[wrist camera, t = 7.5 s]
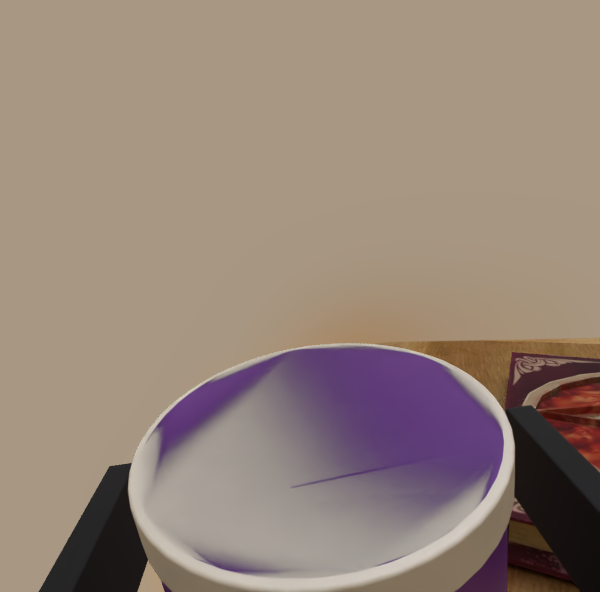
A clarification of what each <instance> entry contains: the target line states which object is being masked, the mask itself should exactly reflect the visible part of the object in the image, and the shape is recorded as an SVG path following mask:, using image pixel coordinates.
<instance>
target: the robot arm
mask: <svg viewBox="0 0 600 592" xmlns="http://www.w3.org/2000/svg"><path fill="white" fill-rule="evenodd" d="M506 416H507V418H508V421H509V423H510V425H511V428H512V432H513V437H514V443H515V487H514V496H515V498H516V499H517V501H518V502H519V504H520V505H521V507H522V508H523V509H524V511H525V512H526V514H527V515H528V517H529V518H530V520H531V521H532V522H533V524H534V525H535V527H536V528H537V530H538V531H539V533H540V534H541V535H542V537H543V538H544V540H545V541H546V543H547V544H548V546H549V547H550V548H551V550H552V551H553V553H554V554H555V556H556V557H557V559H558V560H559V561H560V563H561V564H562V566H563V567H564V569H565V570H566V572H567V573H568V574H569V576H570V577H571V579H572V580H573V582H574V583H575V585H576V586H577V587H578V589H579V590H580V592H600V472H599V471H598V470H597V469H596V468H595V467H594V466H593V465H592V464H591V463H590V462H589V461H588V460H587V459H586V458H585V457H584V456H583V455H582V454H581V453H580V452H579V451H578V450H577V449H575V448H574V447H573V446H572V445H571V444H570V443H569V442H568V441H567V440H566V439H565V438H564V437H563V436H562V435H561V434H560V433H559V432H558V431H557V430H556V429H555V428H554V427H553V426H552V425H551V424H550V423H549V422H548V421H547V420H546V419H545V418H544V417H543V416H542V415H541V414H540V413H539V412H538V411H537V410H536V409H535V408H534V407H533V406H532V405H527V406H520V407H514V408H507V409H506ZM131 465H132V463H130V464H122V465H115V466H110V467H109V468H108V470H107V472H106V474H105V475H104V477H103V479H102V481H101V482H100V484H99V486H98V488H97V489H96V491H95V493H94V495H93V497H92V498H91V500H90V502H89V504H88V506H87V507H86V509H85V511H84V513H83V515H82V516H81V518H80V520H79V521H78V523H77V525H76V527H75V529H74V530H73V532H72V534H71V536H70V537H69V539H68V541H67V543H66V545H65V546H64V548H63V550H62V552H61V554H60V555H59V557H58V559H57V560H56V562H55V564H54V566H53V568H52V570H51V571H50V573H49V575H48V576H47V578H46V580H45V582H44V583H43V585H42V587H41V589H40V591H39V592H137V591H138V588H139V585H140V582H141V579H142V576H143V573H144V570H145V567H146V564H147V561H148V558H147V555H146V553H145V550H144V547H143V545H142V542H141V539H140V536H139V533H138V530H137V527H136V524H135V521H134V518H133V515H132V511H131V508H130V502H129V495H128V482H129V472H130V468H131Z"/></svg>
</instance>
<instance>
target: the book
mask: <svg viewBox="0 0 600 592" xmlns="http://www.w3.org/2000/svg"><path fill="white" fill-rule="evenodd" d="M527 405H532V406H533V407H534V408H535V409H536V410H537V411H538V412H539V413H540V414H541V415H542V416H543V417H544V418H545V419H546V420H547V421H548V422H549V423H550V424H551V425H552V426H553V427H554V428H555V429H556V430H557V431H558V432H559V433H560V434H561V435H562V436H563V437H564V438H565V439H566V440H567V441H568V442H569V443H570V444H571V445H572V446H573V447H574V448H575V449H577V450H578V451H579V452H580V453H581V454H582V455H583V456H584V457H585V458H586V459H587V460H588V461H589V462H590V463H591V464H592V465H593V466H594V467H595V468H596V469H597V470H598V471H599V472H600V359H593V358H580V357H567V356H553V355H540V354H527V353H514V352H512V357H511V365H510V373H509V381H508V390H507V398H506V406H505V414H506V409H507V408H514V407H520V406H527ZM507 563H510V564H513V565H517V566H520V567H524V568H527V569H531V570H534V571H538V572H541V573H545V574H548V575H552V576H555V577H559V578H562V579H566V580H569V581H573V580H572V579H571V577H570V576H569V574H568V573H567V572H566V570H565V569H564V567H563V566H562V564H561V563H560V561H559V560H558V559H557V557H556V556H555V554H554V553H553V551H552V550H551V548H550V547H549V546H548V544H547V543H546V541H545V540H544V538H543V537H542V535H541V534H540V533H539V531H538V530H537V528H536V527H535V525H534V524H533V522H532V521H531V520H530V518H529V517H528V515H527V514H526V512H525V511H524V509H523V508H522V507H521V505H520V504H519V502H518V501H517V499H516V498H515V496H514V504H513V508H512V512H511V516H510V520H509V523H508V534H507Z"/></svg>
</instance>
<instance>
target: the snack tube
mask: <svg viewBox="0 0 600 592" xmlns="http://www.w3.org/2000/svg"><path fill="white" fill-rule="evenodd" d="M514 487H515V443H514V437H513V432H512V428H511V425H510V423H509V421H508V418H507V416H506V414H505V412H504V410H503V409H502V407H501V406H500V404H499V403H498V401H497V400H496V398H495V397H494V396H493V395H492V394H491V393H490V392H489V391H488V390H487V389H486V388H485V387H484V386H483V385H482V384H481V383H479V382H478V381H477V380H476V379H474V378H473V377H472V376H470V375H469V374H467V373H465V372H464V371H462V370H461V369H459V368H457V367H455V366H453V365H451V364H449V363H447V362H445V361H443V360H440V359H437V358H434V357H432V356H429V355H426V354H423V353H419V352H415V351H412V350H407V349H402V348H397V347H391V346H384V345H374V344H355V343H354V344H353V343H342V344H324V345H314V346H307V347H300V348H294V349H290V350H285V351H281V352H276V353H272V354H269V355H265V356H261V357H259V358H255V359H253V360H249V361H246V362H244V363H241V364H239V365H236V366H234V367H231V368H229V369H227V370H225V371H223V372H220V373H218V374H216V375H214V376H213V377H211V378H209V379H207V380H205V381H204V382H202V383H200V384H199V385H197V386H196V387H194V388H193V389H191V390H189V391H188V392H186V393H185V394H184V395H183V396H181V397H180V398H179V399H177V400H176V401H175V402H174V403H172V404H171V406H169V407H168V408H167V409H166V410H165V411H164V412H163V413H162V414H161V415H160V416H159V417H158V418H157V420H156V421H155V422H154V423H153V424H152V425H151V427H150V428H149V429H148V431H147V432H146V434H145V436H144V437H143V439H142V440H141V442H140V444H139V446H138V448H137V450H136V452H135V455H134V457H133V461H132V465H131V468H130V472H129V482H128V495H129V502H130V508H131V511H132V515H133V518H134V521H135V524H136V527H137V530H138V533H139V536H140V539H141V542H142V545H143V547H144V550H145V553H146V555H147V558H148V560H149V563H150V564H151V565H152V567H153V569H154V570H155V572H156V573H157V575H158V576H159V578H160V579H161V581H162V585H163V588H164V591H165V592H507V534H508V523H509V520H510V516H511V512H512V508H513V504H514Z"/></svg>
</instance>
